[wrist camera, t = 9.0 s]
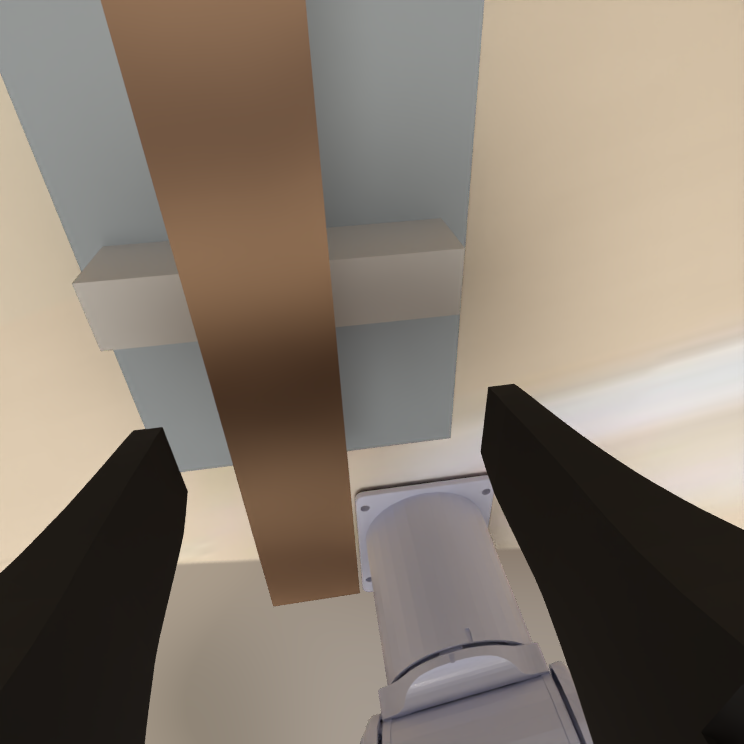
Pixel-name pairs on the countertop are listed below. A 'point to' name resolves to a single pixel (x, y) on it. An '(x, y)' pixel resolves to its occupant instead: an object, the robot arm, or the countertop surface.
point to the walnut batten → (251, 260)
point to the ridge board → (341, 202)
